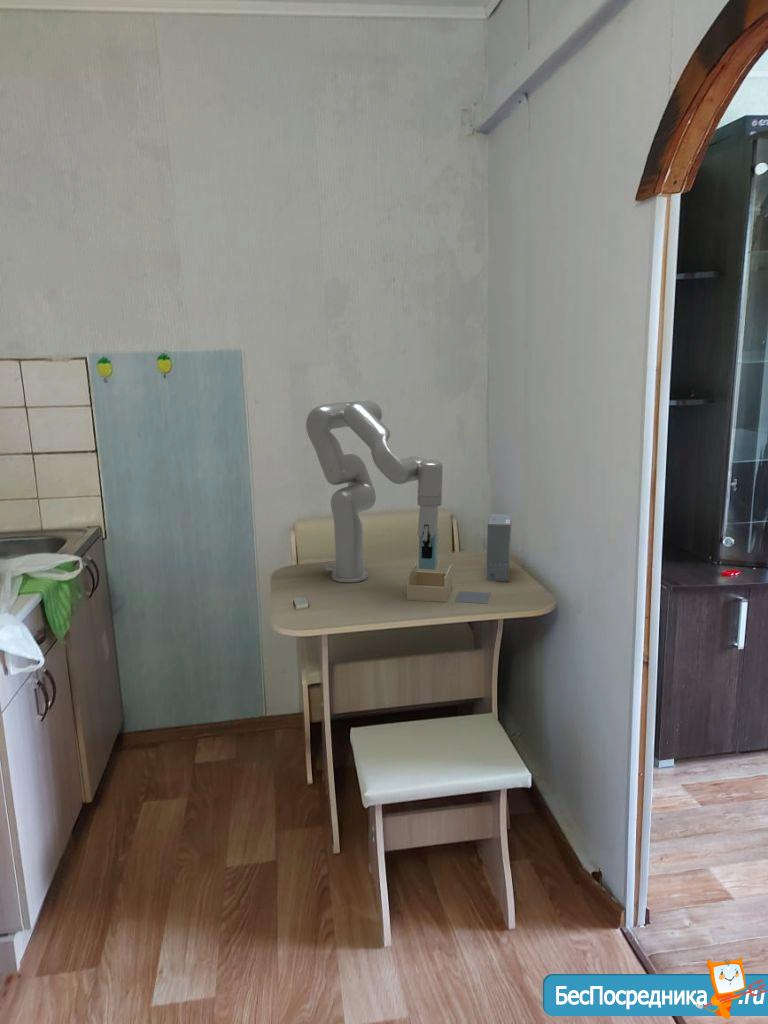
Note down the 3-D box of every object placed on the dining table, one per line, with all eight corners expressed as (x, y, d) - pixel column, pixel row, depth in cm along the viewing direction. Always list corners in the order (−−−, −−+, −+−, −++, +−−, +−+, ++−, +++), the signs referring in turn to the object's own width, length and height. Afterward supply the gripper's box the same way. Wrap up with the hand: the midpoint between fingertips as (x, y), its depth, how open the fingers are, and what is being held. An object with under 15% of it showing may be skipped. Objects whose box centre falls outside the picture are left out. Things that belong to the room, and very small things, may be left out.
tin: (418, 568, 239) (419, 531, 236) (421, 563, 244) (422, 527, 241) (434, 570, 238) (435, 532, 235) (437, 565, 243) (438, 528, 240)
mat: (454, 603, 234) (455, 601, 234) (459, 592, 243) (459, 591, 243) (487, 605, 232) (487, 603, 232) (490, 594, 241) (490, 592, 241)
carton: (406, 600, 237) (406, 576, 235) (415, 585, 251) (415, 562, 249) (445, 603, 234) (445, 578, 232) (452, 587, 248) (452, 564, 247)
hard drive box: (508, 582, 253) (510, 525, 248) (485, 581, 254) (486, 524, 250) (510, 568, 268) (511, 514, 263) (488, 567, 269) (489, 513, 265)
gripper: (422, 493, 244) (421, 547, 249) (412, 505, 228) (411, 562, 233) (445, 494, 243) (443, 548, 247) (437, 507, 227) (435, 564, 231)
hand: (428, 555), depth 240 cm, fingers closed on tin, 5 cm apart
